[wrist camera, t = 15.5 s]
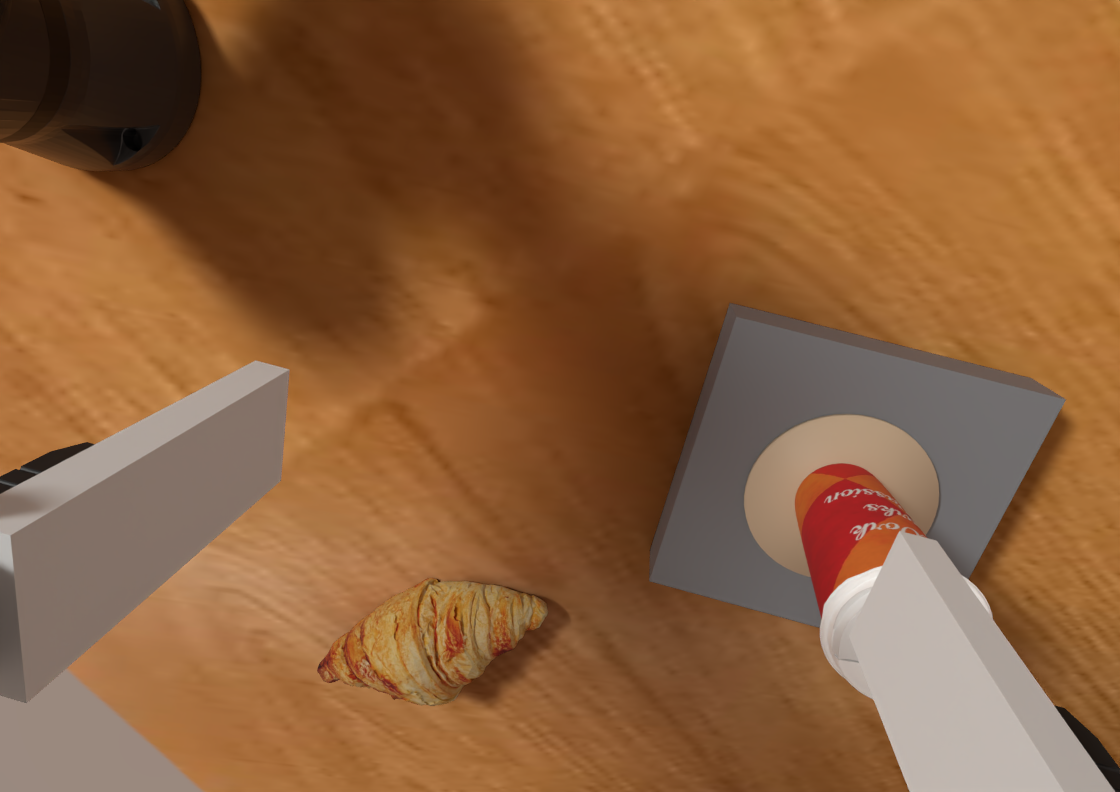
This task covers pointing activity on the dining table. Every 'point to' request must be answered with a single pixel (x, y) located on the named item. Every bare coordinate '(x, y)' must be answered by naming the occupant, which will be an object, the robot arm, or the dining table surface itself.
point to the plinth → (835, 453)
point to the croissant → (432, 639)
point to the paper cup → (848, 552)
